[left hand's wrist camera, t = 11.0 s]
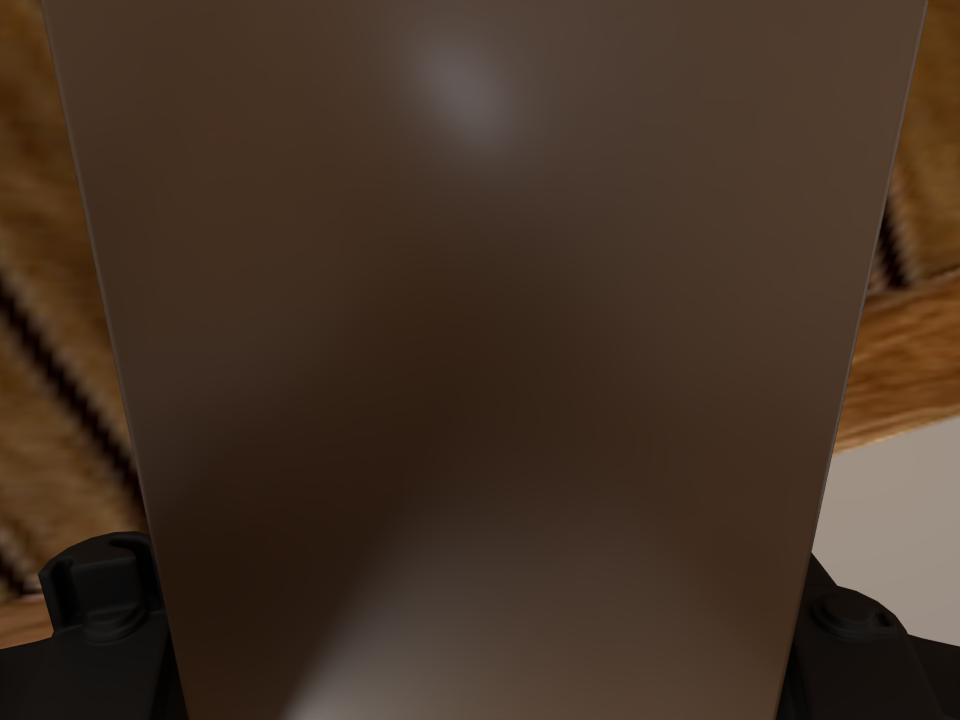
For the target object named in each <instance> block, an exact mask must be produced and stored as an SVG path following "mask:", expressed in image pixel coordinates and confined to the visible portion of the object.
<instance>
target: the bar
mask: <svg viewBox="0 0 960 720" xmlns="http://www.w3.org/2000/svg"><path fill="white" fill-rule="evenodd" d="M40 2H41V7H42V12H43V17H44V21H45V26H46V31H47V36H48V41H49V46H50V51H51V55H52V60H53V65H54V70H55V75H56V80H57V85H58V89H59V94H60V99H61V104H62V109H63V114H64V118H65V123H66V128H67V133H68V138H69V143H70V148H71V152H72V157H73V162H74V167H75V172H76V177H77V182H78V186H79V191H80V196H81V201H82V206H83V211H84V216H85V220H86V225H87V230H88V235H89V240H90V245H91V249H92V254H93V259H94V264H95V269H96V274H97V279H98V283H99V288H100V293H101V298H102V303H103V308H104V313H105V317H106V322H107V327H108V332H109V337H110V342H111V347H112V351H113V356H114V361H115V366H116V371H117V376H118V380H119V385H120V390H121V395H122V400H123V405H124V410H125V414H126V419H127V424H128V429H129V434H130V439H131V444H132V448H133V453H134V458H135V463H136V468H137V473H138V478H139V482H140V487H141V492H142V497H143V502H144V507H145V511H146V516H147V521H148V526H149V531H150V536H151V541H152V545H153V550H154V555H155V560H156V565H157V570H158V575H159V579H160V584H161V589H162V594H163V599H164V604H165V609H166V613H167V618H168V623H169V628H170V633H171V638H172V642H173V647H174V652H175V657H176V662H177V667H178V672H179V676H180V681H181V686H182V691H183V696H184V701H185V706H186V710H187V715H188V720H776V716H777V711H778V706H779V701H780V697H781V692H782V687H783V683H784V678H785V673H786V669H787V664H788V659H789V655H790V650H791V645H792V640H793V636H794V631H795V626H796V622H797V617H798V612H799V608H800V603H801V598H802V594H803V589H804V584H805V579H806V575H807V570H808V565H809V561H810V556H811V551H812V547H813V542H814V537H815V533H816V528H817V523H818V519H819V514H820V509H821V504H822V500H823V495H824V490H825V486H826V481H827V476H828V471H829V467H830V462H831V458H832V453H833V448H834V443H835V439H836V434H837V429H838V425H839V420H840V415H841V411H842V406H843V401H844V397H845V392H846V387H847V382H848V378H849V373H850V368H851V364H852V359H853V354H854V350H855V345H856V340H857V336H858V331H859V326H860V322H861V317H862V312H863V307H864V303H865V298H866V293H867V289H868V284H869V279H870V275H871V270H872V265H873V261H874V256H875V251H876V246H877V242H878V237H879V232H880V228H881V223H882V218H883V214H884V209H885V204H886V200H887V195H888V190H889V186H890V181H891V176H892V171H893V167H894V162H895V157H896V153H897V148H898V143H899V139H900V134H901V129H902V125H903V120H904V115H905V110H906V106H907V101H908V96H909V92H910V87H911V82H912V78H913V73H914V68H915V64H916V59H917V54H918V49H919V45H920V40H921V35H922V31H923V26H924V21H925V17H926V12H927V7H928V3H929V0H40Z"/></svg>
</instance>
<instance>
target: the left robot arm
mask: <svg viewBox="0 0 960 720" xmlns="http://www.w3.org/2000/svg"><path fill="white" fill-rule="evenodd" d="M38 576H39V580H40V583H41V587H42V590H43V594H44V598H45V601H46V605H47V608H48V612H49V615H50V619H51V622H52V626H53V629H54V632H53V634H52V637H50V638H47V639H43V640H40V641H36V642H32V643H27V644H23V645H18V646H14V647H9V648H5V649H0V720H188V715H187V710H186V706H185V701H184V696H183V691H182V686H181V681H180V676H179V672H178V667H177V662H176V657H175V652H174V647H173V642H172V638H171V633H170V628H169V623H168V618H167V613H166V609H165V604H164V599H163V594H162V589H161V584H160V579H159V575H158V570H157V565H156V560H155V555H154V550H153V545H152V541H151V536H150V534H146V533H141V532H137V531H130V532H113V533H109V534H105V535H101V536H97V537H93V538H90V539H87V540H85V541H83V542H80V543H78V544H76V545H73V546H71V547H69V548H67V549H66V550H64V551H63V552H61V553H60V554H58V555H57V556H55V557H54V558H52V559H51V560H50V561H49V562H48V563H47V564H46V565H45V566H44V568H43V569H42V570H41V571H40V572H39V574H38ZM776 720H960V647H959V646H955V645H950V644H946V643H941V642H937V641H932V640H928V639H923V638H919V637H916V636H913V635H909V634H908V633H907V631H906V629H905V628H904V627H903V625H902V624H901V623H900V621H899V620H898V618H897V617H896V616H895V615H894V614H893V613H892V612H891V611H889V610H888V609H887V608H885V607H884V606H883V605H881V604H880V603H879V602H878V601H876V600H874V599H872V598H870V597H867V596H865V595H863V594H861V593H859V592H857V591H855V590H851V589H847V588H844V587H840V586H837V585H836V583H835V582H834V581H833V580H832V578H831V577H830V576H829V574H828V573H827V572H826V570H825V569H824V568H823V567H822V565H821V564H820V563H819V561H818V560H817V559H816V558H815V556H814V555H813V554H812V552H811V556H810V561H809V565H808V570H807V575H806V579H805V584H804V589H803V594H802V598H801V603H800V608H799V612H798V617H797V622H796V626H795V631H794V636H793V640H792V645H791V650H790V655H789V659H788V664H787V669H786V673H785V678H784V683H783V687H782V692H781V697H780V701H779V706H778V711H777V716H776Z"/></svg>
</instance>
